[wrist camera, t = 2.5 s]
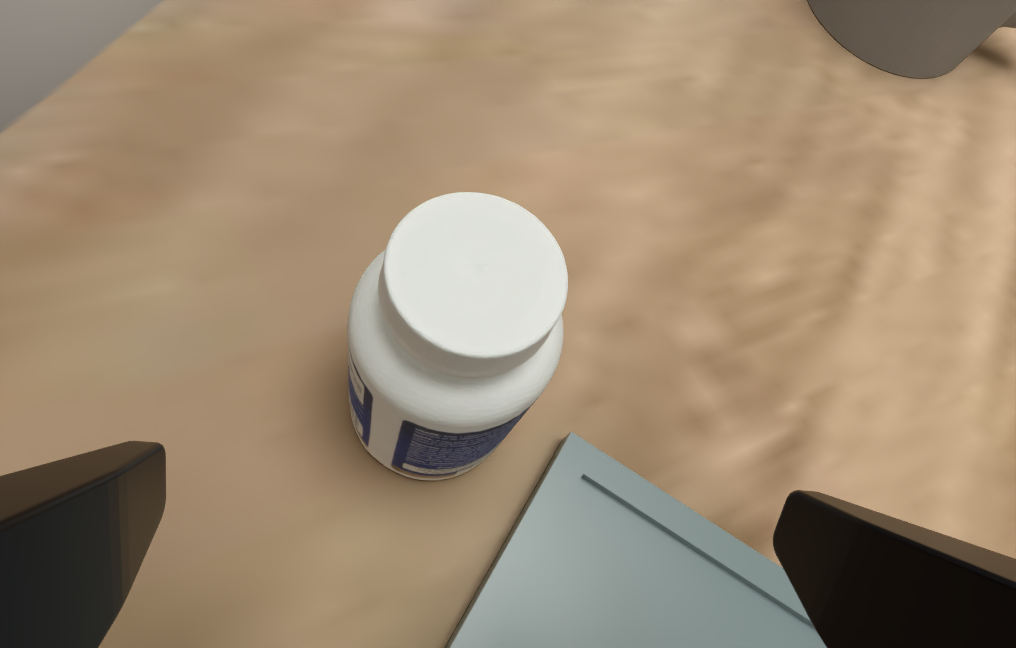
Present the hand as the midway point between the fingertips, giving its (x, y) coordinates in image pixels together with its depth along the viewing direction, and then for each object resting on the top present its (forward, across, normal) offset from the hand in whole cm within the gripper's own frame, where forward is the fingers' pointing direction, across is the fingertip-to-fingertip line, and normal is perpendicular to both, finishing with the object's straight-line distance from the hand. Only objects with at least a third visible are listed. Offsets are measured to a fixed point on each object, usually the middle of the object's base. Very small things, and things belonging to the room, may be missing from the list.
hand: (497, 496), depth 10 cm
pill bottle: (+13, 0, -5) cm, 14 cm away
